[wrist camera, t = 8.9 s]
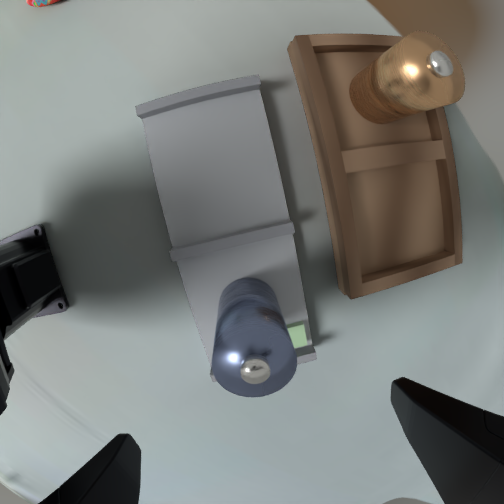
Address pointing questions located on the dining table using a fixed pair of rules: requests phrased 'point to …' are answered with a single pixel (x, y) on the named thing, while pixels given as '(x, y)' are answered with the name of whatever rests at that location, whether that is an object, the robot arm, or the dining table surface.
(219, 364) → the cylinder
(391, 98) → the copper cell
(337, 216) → the tray
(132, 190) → the dining table surface
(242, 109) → the cradle
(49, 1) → the mug
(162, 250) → the dining table surface
